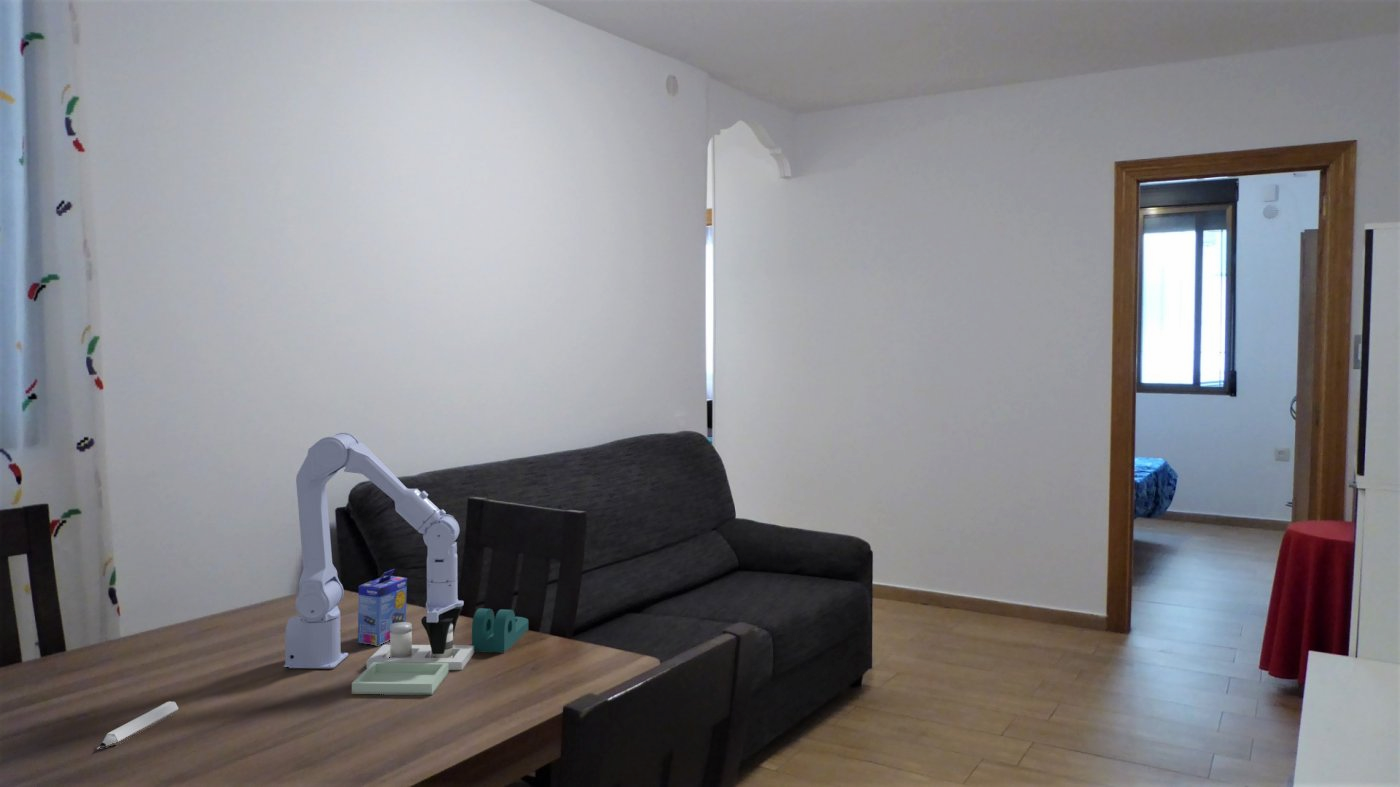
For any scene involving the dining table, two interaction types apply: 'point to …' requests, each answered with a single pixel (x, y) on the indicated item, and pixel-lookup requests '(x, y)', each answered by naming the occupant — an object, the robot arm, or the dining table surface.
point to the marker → (139, 723)
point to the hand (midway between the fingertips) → (442, 648)
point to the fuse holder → (426, 656)
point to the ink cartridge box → (381, 608)
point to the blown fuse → (447, 645)
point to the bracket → (496, 630)
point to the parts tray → (400, 678)
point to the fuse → (401, 640)
